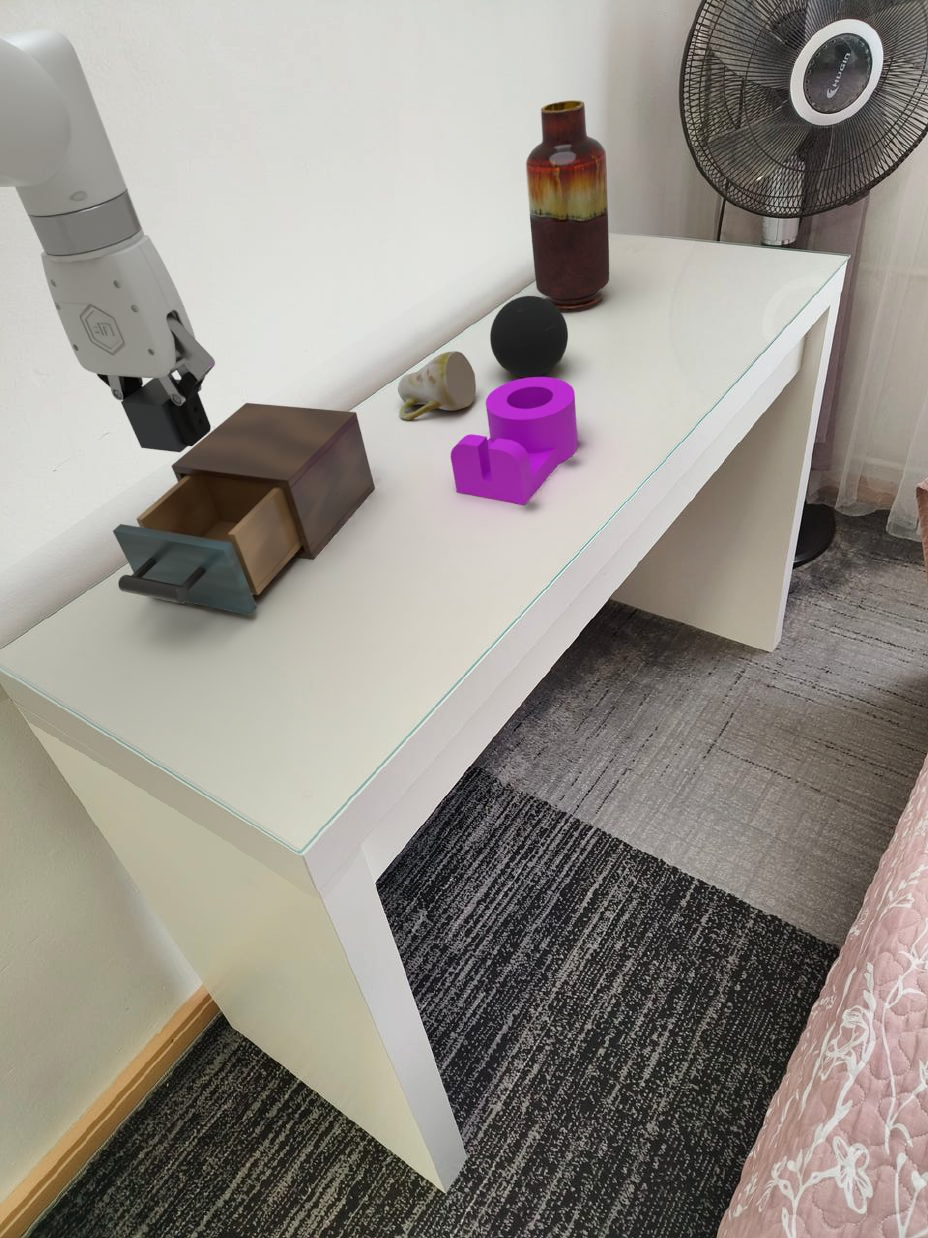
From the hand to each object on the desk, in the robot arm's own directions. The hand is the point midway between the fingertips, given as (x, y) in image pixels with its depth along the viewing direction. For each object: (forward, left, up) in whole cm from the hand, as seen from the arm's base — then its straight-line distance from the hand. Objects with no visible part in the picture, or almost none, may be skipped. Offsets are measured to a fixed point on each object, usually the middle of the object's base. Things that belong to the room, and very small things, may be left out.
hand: (174, 434), depth 77 cm
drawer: (-1, -1, -16) cm, 16 cm away
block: (0, 0, 0) cm, 0 cm away
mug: (+34, +15, -17) cm, 41 cm away
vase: (+67, +28, -17) cm, 75 cm away
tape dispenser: (+34, -4, -17) cm, 38 cm away
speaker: (+48, +13, -17) cm, 53 cm away
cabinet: (+9, +6, -16) cm, 20 cm away
